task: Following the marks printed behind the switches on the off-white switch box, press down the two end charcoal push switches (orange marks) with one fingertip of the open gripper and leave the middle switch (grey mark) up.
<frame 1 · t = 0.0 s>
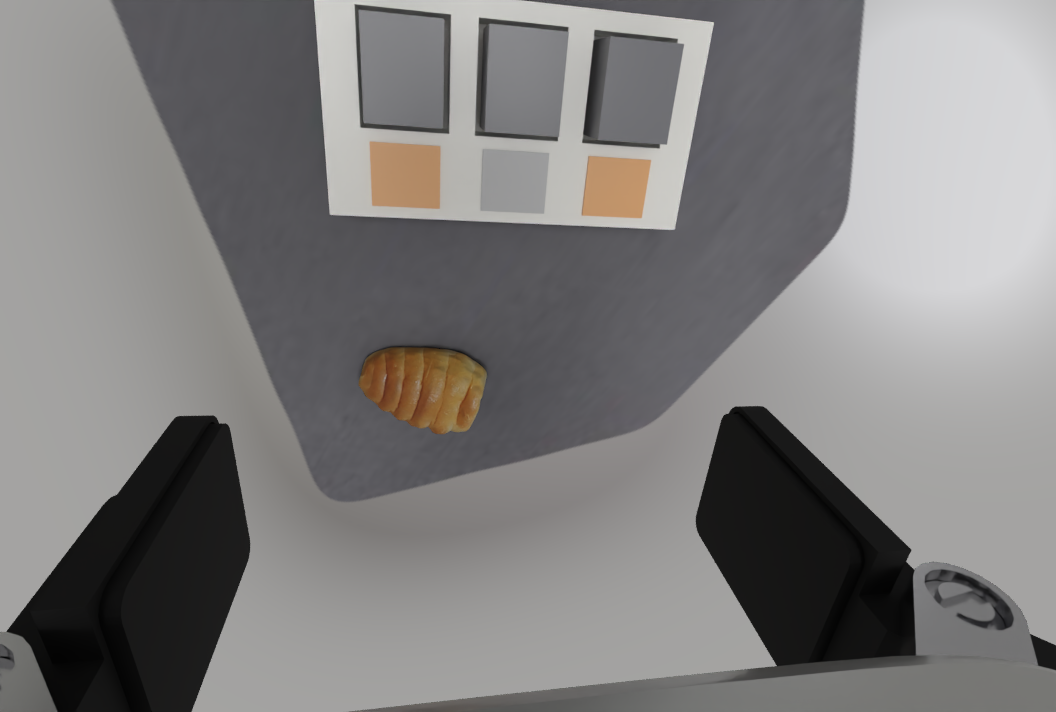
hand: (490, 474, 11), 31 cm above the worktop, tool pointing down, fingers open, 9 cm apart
button b: (521, 82, 32), point 5 cm above the worktop, slide at 0.0 cm
switch box: (508, 116, 37), on the worktop
pastry: (430, 381, 45), on the worktop
button c: (629, 92, 33), point 5 cm above the worktop, slide at 0.0 cm
button a: (404, 72, 31), point 5 cm above the worktop, slide at 0.0 cm
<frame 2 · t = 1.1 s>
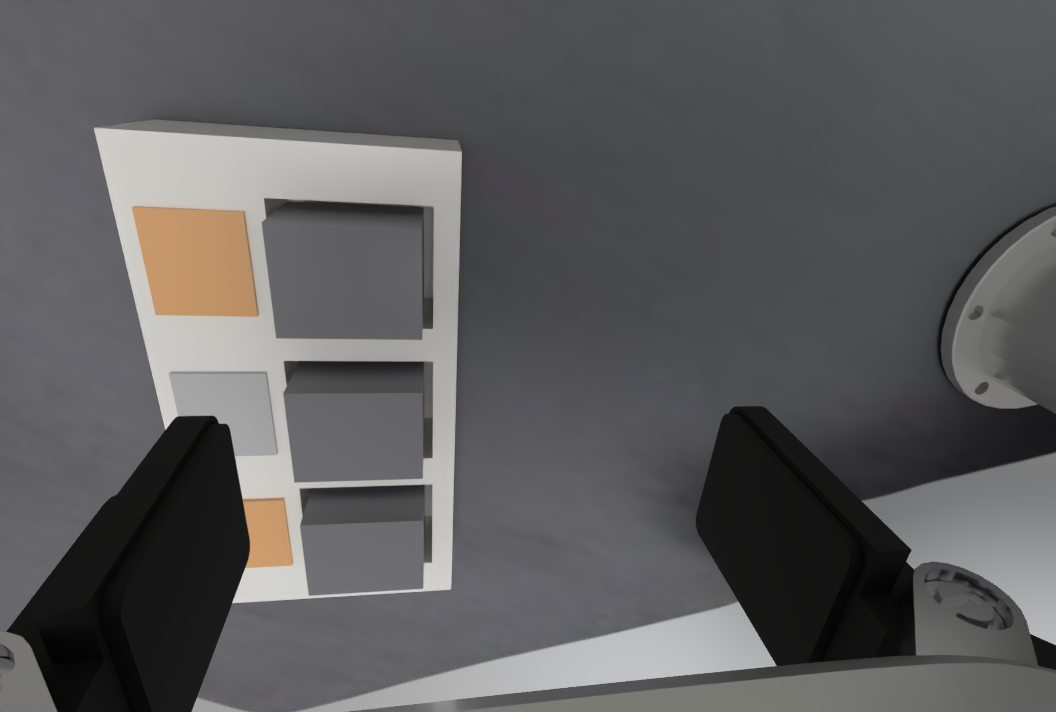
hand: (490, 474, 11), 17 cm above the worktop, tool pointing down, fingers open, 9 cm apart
button b: (362, 415, 24), point 5 cm above the worktop, slide at 0.0 cm
switch box: (331, 365, 28), on the worktop
button c: (369, 530, 27), point 5 cm above the worktop, slide at 0.0 cm
button a: (353, 269, 21), point 5 cm above the worktop, slide at 0.0 cm
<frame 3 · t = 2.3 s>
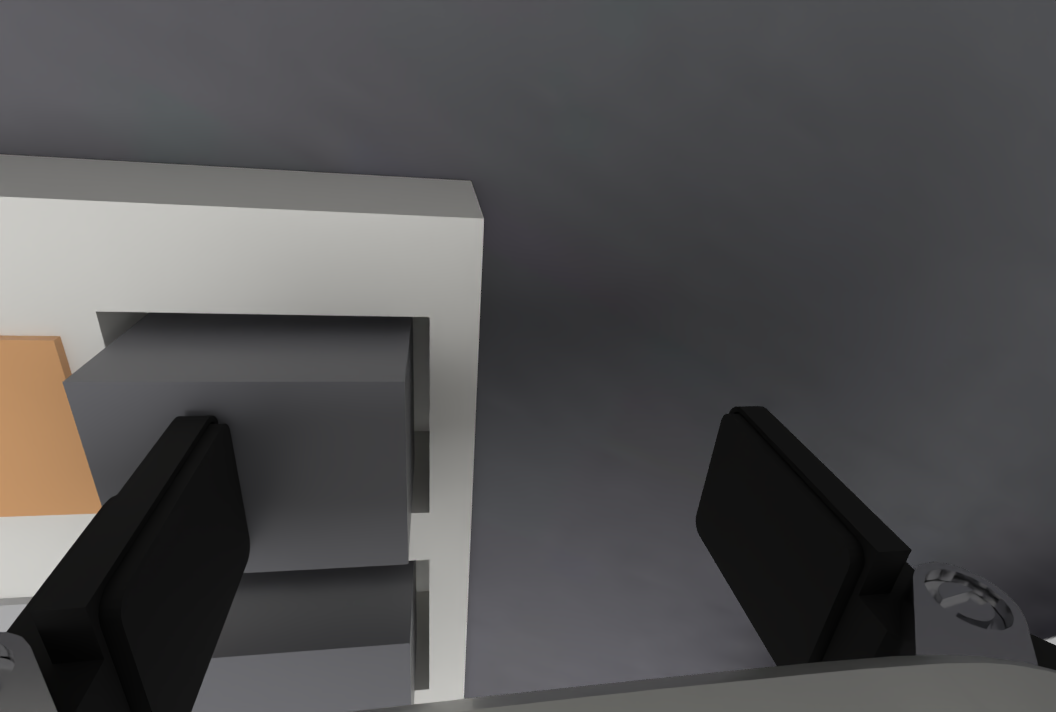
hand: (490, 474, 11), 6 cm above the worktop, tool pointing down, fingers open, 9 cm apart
button b: (310, 644, 14), point 5 cm above the worktop, slide at 0.0 cm
switch box: (274, 520, 18), on the worktop
button a: (282, 429, 12), point 5 cm above the worktop, slide at 0.0 cm, touching gripper
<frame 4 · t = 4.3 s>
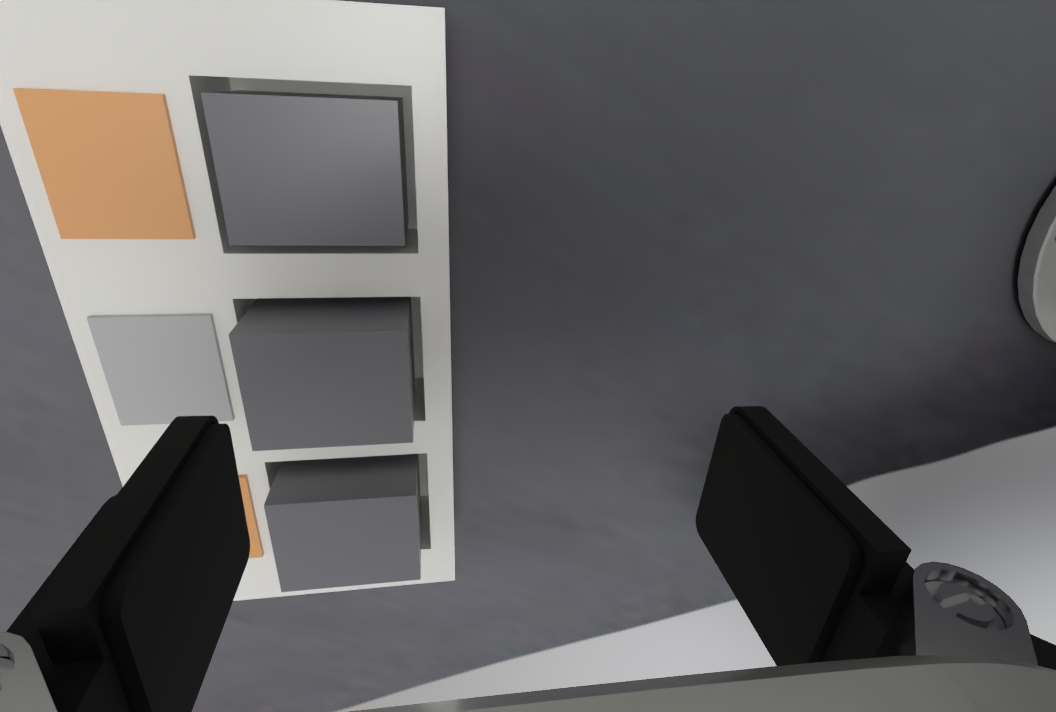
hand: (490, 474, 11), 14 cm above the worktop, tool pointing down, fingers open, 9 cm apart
button b: (335, 367, 20), point 5 cm above the worktop, slide at 0.0 cm
switch box: (302, 317, 23), on the worktop
button c: (352, 511, 22), point 5 cm above the worktop, slide at 0.0 cm
button a: (321, 166, 18), point 3 cm above the worktop, slide at 1.5 cm
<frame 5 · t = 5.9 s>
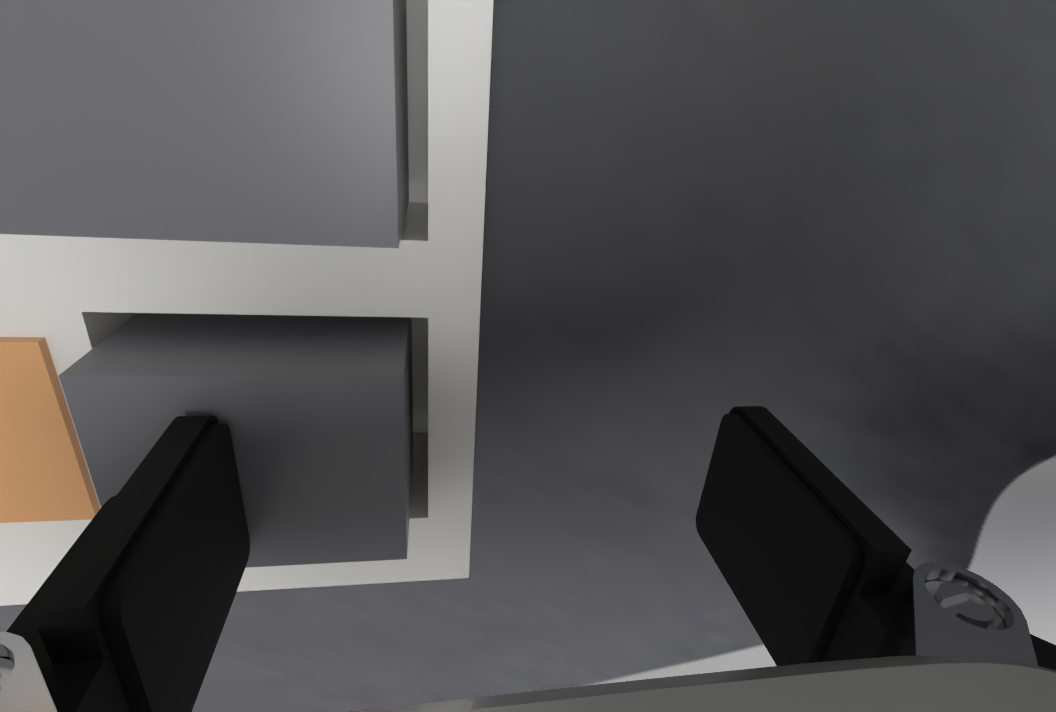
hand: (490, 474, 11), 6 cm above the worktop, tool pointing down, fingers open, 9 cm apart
button b: (225, 72, 8), point 5 cm above the worktop, slide at 0.0 cm
switch box: (198, 66, 12), on the worktop
button c: (280, 424, 12), point 4 cm above the worktop, slide at 0.4 cm, touching gripper
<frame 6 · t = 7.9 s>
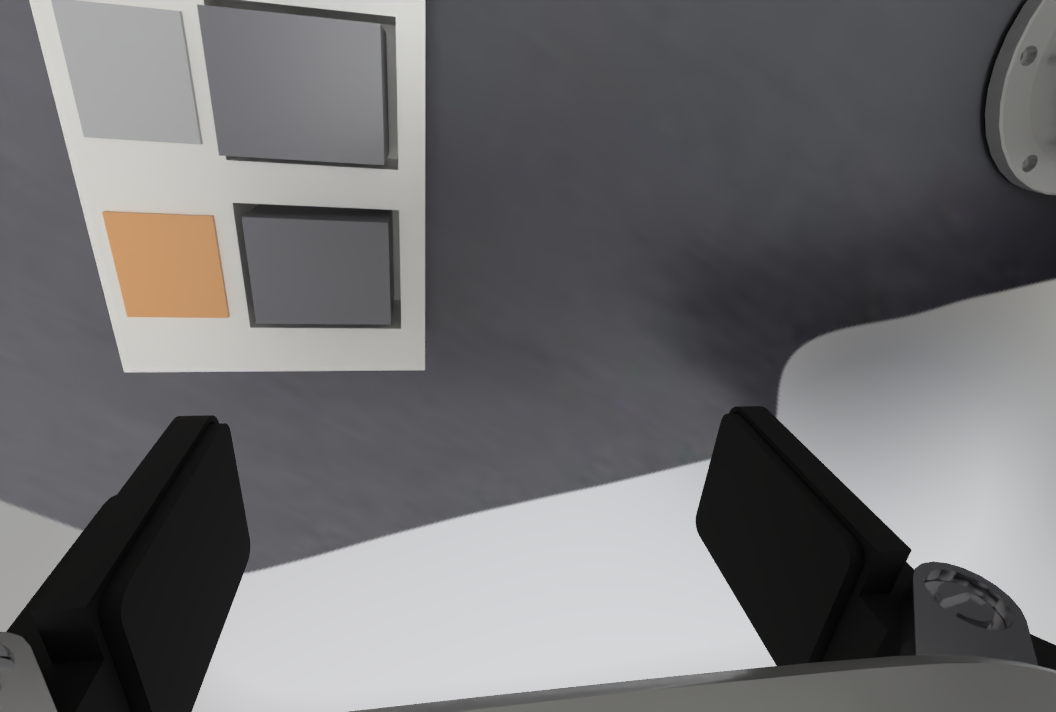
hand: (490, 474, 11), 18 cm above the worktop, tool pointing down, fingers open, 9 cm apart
button b: (307, 90, 19), point 5 cm above the worktop, slide at 0.0 cm
switch box: (276, 84, 23), on the worktop
button c: (327, 261, 23), point 3 cm above the worktop, slide at 1.5 cm
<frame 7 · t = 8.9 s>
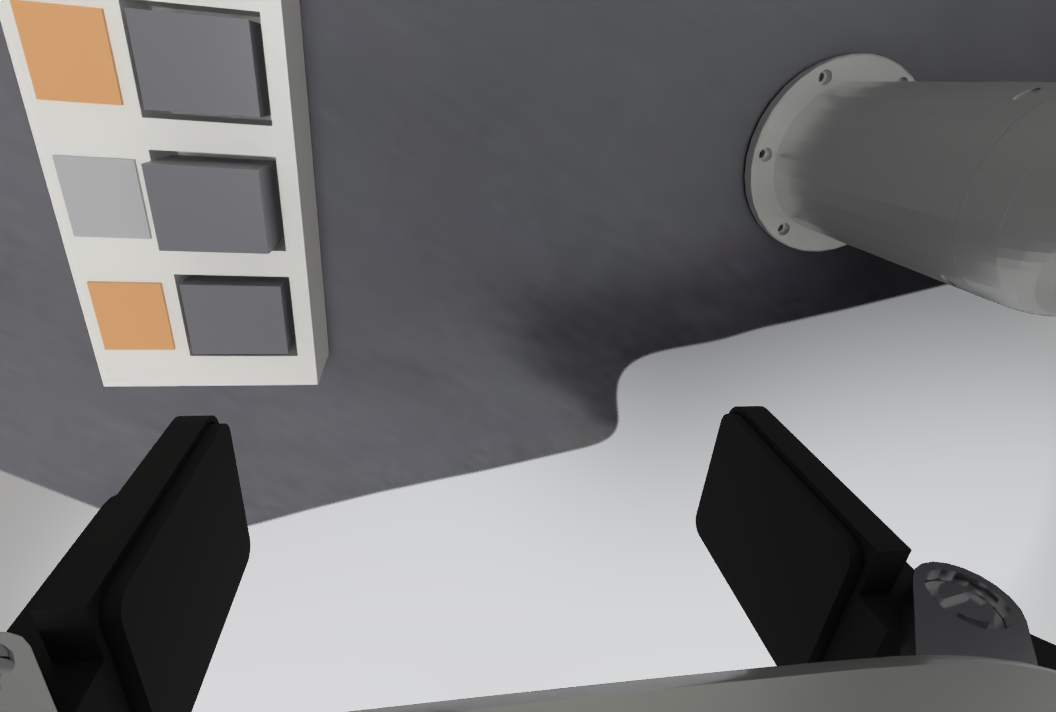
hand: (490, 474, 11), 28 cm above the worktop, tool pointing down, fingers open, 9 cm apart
button b: (219, 203, 30), point 5 cm above the worktop, slide at 0.0 cm
switch box: (209, 186, 33), on the worktop
button c: (245, 309, 34), point 3 cm above the worktop, slide at 1.5 cm
button a: (208, 66, 28), point 3 cm above the worktop, slide at 1.5 cm
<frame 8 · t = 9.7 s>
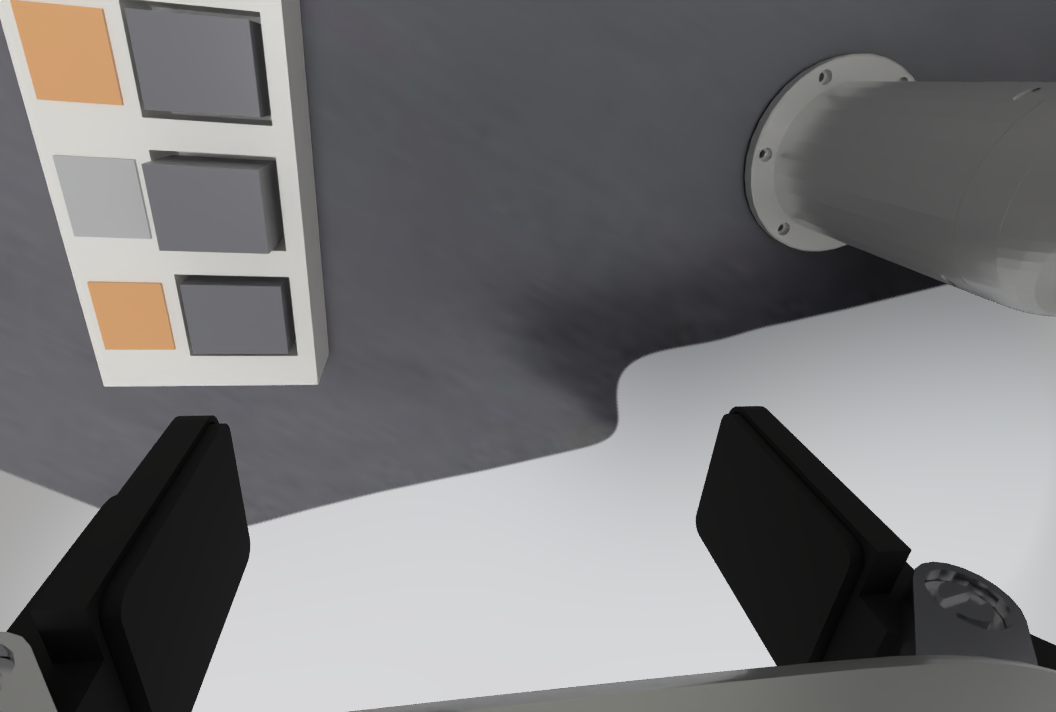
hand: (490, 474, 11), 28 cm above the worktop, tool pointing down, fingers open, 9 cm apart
button b: (220, 204, 30), point 5 cm above the worktop, slide at 0.0 cm
switch box: (209, 186, 33), on the worktop
button c: (245, 309, 34), point 3 cm above the worktop, slide at 1.5 cm
button a: (209, 66, 28), point 3 cm above the worktop, slide at 1.5 cm
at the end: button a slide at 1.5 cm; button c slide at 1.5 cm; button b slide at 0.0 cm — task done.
